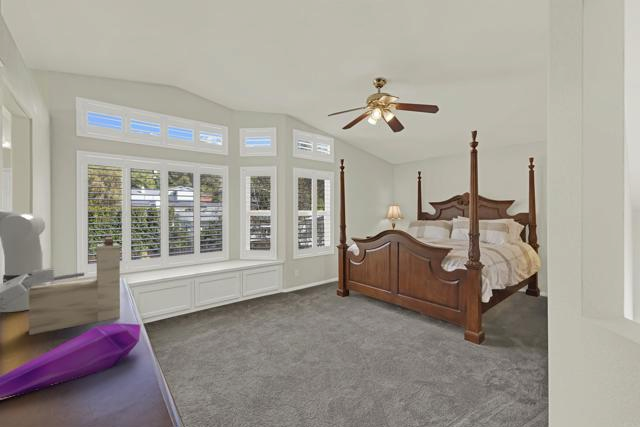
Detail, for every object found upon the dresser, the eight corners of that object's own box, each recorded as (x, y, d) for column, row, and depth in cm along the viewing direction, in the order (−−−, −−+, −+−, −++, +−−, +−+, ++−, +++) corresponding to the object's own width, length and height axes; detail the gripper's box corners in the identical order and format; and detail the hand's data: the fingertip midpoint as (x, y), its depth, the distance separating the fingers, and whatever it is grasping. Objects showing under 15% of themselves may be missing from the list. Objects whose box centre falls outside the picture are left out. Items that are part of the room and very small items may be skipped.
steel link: (32, 284, 94) (31, 272, 94) (34, 282, 97) (33, 270, 97) (84, 276, 102) (83, 265, 102) (84, 274, 105) (83, 263, 105)
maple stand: (31, 327, 98) (31, 241, 98) (117, 311, 114) (117, 237, 114) (29, 335, 92) (28, 242, 92) (120, 317, 108) (119, 238, 107)
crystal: (-13, 387, 55) (154, 319, 78) (-17, 362, 65) (133, 308, 88) (-3, 427, 56) (159, 349, 79) (-8, 397, 65) (138, 335, 89)
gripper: (-27, 301, 80) (33, 270, 88) (-10, 286, 96) (40, 261, 104) (-10, 318, 83) (47, 286, 90) (4, 301, 98) (52, 275, 106)
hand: (43, 273), depth 97 cm, fingers closed on steel link, 4 cm apart
